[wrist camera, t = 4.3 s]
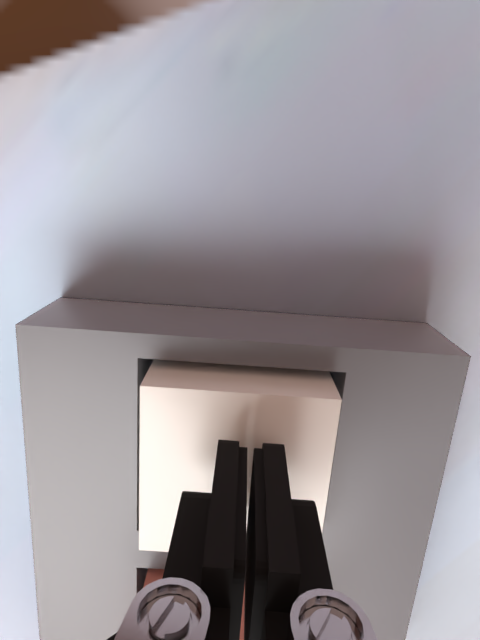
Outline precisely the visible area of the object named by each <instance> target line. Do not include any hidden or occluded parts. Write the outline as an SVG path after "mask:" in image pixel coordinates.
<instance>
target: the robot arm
mask: <svg viewBox="0 0 480 640" xmlns="http://www.w3.org/2000/svg"><path fill="white" fill-rule="evenodd" d="M246 519H247V447H239V441H232V440H218V446H217V454H216V462H215V470H214V477H213V485H212V493H205V492H192V491H183V492H182V494H181V498H180V503H179V507H178V511H177V516H176V520H175V525H174V529H173V534H172V538H171V542H170V547H169V551H168V556H167V560H166V565H165V569H164V573H163V578H162V579H159V580H156V581H154V582H152V583H150V584H148V585H146V586H145V587H144V588H143V589H142V590H140V591H139V592H138V593H137V595H136V596H135V598H134V599H133V601H132V602H131V604H130V606H129V608H128V610H127V613H126V615H125V617H124V619H123V621H122V623H121V625H120V628H119V630H118V632H117V633H115V634H114V635H112V636H111V637H110V638H108V639H107V640H239V639H240V628H241V617H242V606H243V595H244V584H245V602H244V640H378V639H377V637H376V634H375V632H374V630H373V627H372V625H371V623H370V621H369V619H368V617H367V616H366V614H365V612H364V611H363V609H362V608H361V607H360V606H359V605H358V604H357V603H356V602H355V601H354V600H352V599H351V598H349V597H347V596H346V595H344V594H343V593H340V592H337V591H334V590H333V586H332V581H331V576H330V571H329V566H328V562H327V557H326V552H325V547H324V542H323V537H322V532H321V527H320V522H319V517H318V512H317V507H316V504H315V502H314V501H312V500H299V499H291V492H290V485H289V477H288V469H287V461H286V453H285V446H284V444H272V443H263V444H262V449H261V448H254V453H253V464H252V475H251V486H250V497H249V508H248V520H247V531H246Z"/></svg>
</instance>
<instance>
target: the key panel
mask: <svg viewBox="0 0 480 640" xmlns="http://www.w3.org/2000/svg"><path fill="white" fill-rule="evenodd" d="M16 338H17V351H18V364H19V377H20V390H21V403H22V416H23V429H24V442H25V454H26V467H27V480H28V493H29V506H30V519H31V532H32V545H33V558H34V571H35V584H36V597H37V610H38V623H39V636H40V640H107V639H108V638H110V637H111V636H112V635H114V634H115V633H117V632H118V630H119V628H120V625H121V623H122V621H123V619H124V617H125V615H126V613H127V610H128V608H129V606H130V604H131V602H132V601H133V599H134V598H135V596H136V595H137V593H138V592H139V591H140V590H142V589H143V586H144V582H145V578H146V574H147V570H148V568H153V569H165V565H166V560H167V556H168V552H160V551H145V550H139V444H140V385H141V383H142V381H143V379H144V377H145V375H146V373H147V371H148V370H149V368H150V366H151V364H152V362H153V360H154V359H158V360H173V361H187V362H202V363H216V364H231V365H245V366H260V367H274V368H289V369H303V370H318V371H329V372H330V374H331V377H332V379H333V381H334V383H335V386H336V388H337V390H338V392H339V394H340V397H341V399H342V402H341V409H340V416H339V423H338V429H337V436H336V443H335V449H334V456H333V463H332V470H331V476H330V483H329V490H328V497H327V503H326V510H325V517H324V524H323V530H322V537H323V542H324V547H325V552H326V557H327V562H328V566H329V571H330V576H331V581H332V586H333V590H334V591H337V592H340V593H343V594H344V595H346V596H347V597H349V598H351V599H352V600H354V601H355V602H356V603H357V604H358V605H359V606H360V607H361V608H362V609H363V611H364V612H365V614H366V616H367V617H368V619H369V621H370V623H371V625H372V627H373V630H374V632H375V634H376V637H377V639H378V640H405V638H406V634H407V629H408V625H409V621H410V616H411V612H412V608H413V603H414V599H415V595H416V590H417V586H418V582H419V578H420V573H421V569H422V565H423V560H424V556H425V552H426V547H427V543H428V539H429V534H430V530H431V526H432V521H433V517H434V513H435V508H436V504H437V500H438V496H439V491H440V487H441V483H442V478H443V474H444V470H445V465H446V461H447V457H448V452H449V448H450V444H451V439H452V435H453V431H454V427H455V422H456V418H457V414H458V409H459V405H460V401H461V396H462V392H463V388H464V383H465V379H466V375H467V370H468V366H469V362H470V357H471V356H470V355H468V354H467V353H466V352H464V351H463V350H462V349H460V348H459V347H458V346H456V345H455V344H454V343H452V342H451V341H450V340H448V339H447V338H446V337H445V336H443V335H442V334H441V333H439V332H438V331H437V330H435V329H434V328H433V327H431V326H430V325H429V324H427V323H418V322H404V321H390V320H375V319H361V318H347V317H333V316H318V315H304V314H290V313H276V312H261V311H247V310H233V309H219V308H204V307H190V306H176V305H162V304H147V303H133V302H119V301H105V300H90V299H76V298H62V297H60V298H59V299H57V300H56V301H54V302H52V303H51V304H49V305H47V306H46V307H44V308H42V309H41V310H39V311H37V312H36V313H34V314H32V315H31V316H29V317H27V318H26V319H24V320H22V321H21V322H19V323H17V324H16Z"/></svg>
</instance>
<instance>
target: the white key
mask: <svg viewBox="0 0 480 640" xmlns="http://www.w3.org/2000/svg"><path fill="white" fill-rule="evenodd" d="M341 402H342V399H341V397H340V394H339V392H338V390H337V388H336V386H335V383H334V381H333V379H332V377H331V374H330V372H329V371H318V370H303V369H289V368H274V367H260V366H245V365H231V364H216V363H202V362H187V361H173V360H158V359H154V360H153V362H152V364H151V366H150V368H149V370H148V371H147V373H146V375H145V377H144V379H143V381H142V383H141V385H140V444H139V550H145V551H160V552H168V551H169V547H170V542H171V538H172V534H173V529H174V525H175V520H176V516H177V511H178V507H179V503H180V498H181V494H182V492H183V491H192V492H205V493H212V485H213V477H214V470H215V462H216V454H217V446H218V440H232V441H239V447H247V519H246V531H247V520H248V508H249V497H250V486H251V475H252V464H253V453H254V448H261V449H262V444H263V443H272V444H284V446H285V453H286V461H287V469H288V477H289V485H290V492H291V499H299V500H312V501H314V502H315V504H316V507H317V512H318V517H319V522H320V527H321V532H322V530H323V524H324V517H325V510H326V503H327V497H328V490H329V483H330V476H331V470H332V463H333V456H334V449H335V443H336V436H337V429H338V423H339V416H340V409H341Z"/></svg>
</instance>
